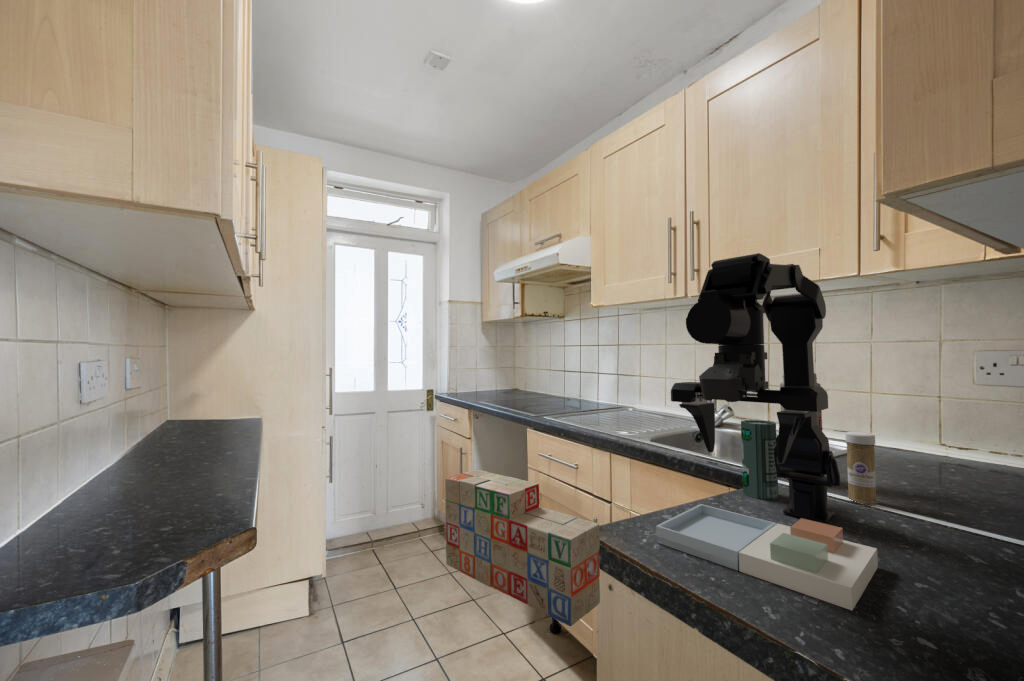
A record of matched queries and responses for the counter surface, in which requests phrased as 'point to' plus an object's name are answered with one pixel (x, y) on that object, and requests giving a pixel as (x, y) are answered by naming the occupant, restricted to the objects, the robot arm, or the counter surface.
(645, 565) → the counter surface
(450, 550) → the stack of blocks
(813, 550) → the tile sage
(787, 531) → the board
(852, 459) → the sprinkles bottle
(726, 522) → the box
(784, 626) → the counter surface
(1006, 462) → the counter surface
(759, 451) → the can
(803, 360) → the robot arm
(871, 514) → the counter surface
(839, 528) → the tile terracotta
